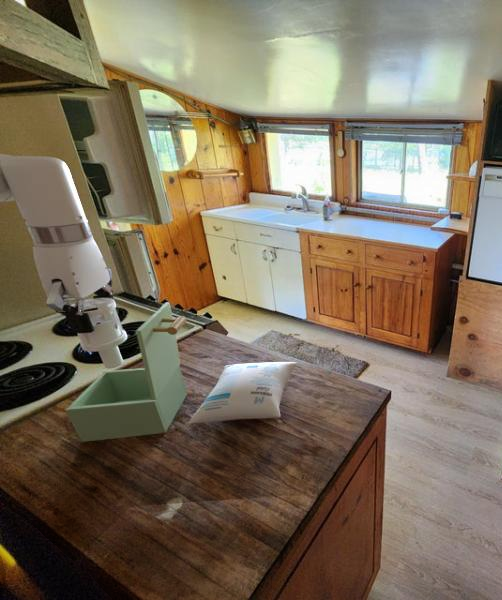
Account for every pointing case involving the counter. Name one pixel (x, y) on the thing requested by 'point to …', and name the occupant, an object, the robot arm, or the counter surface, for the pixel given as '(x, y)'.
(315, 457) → the counter surface
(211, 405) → the pouch
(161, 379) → the lid
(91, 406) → the box
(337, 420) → the counter surface
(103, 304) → the white cylindrical piece
